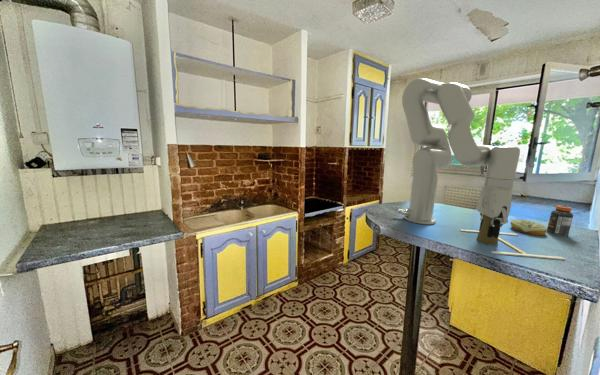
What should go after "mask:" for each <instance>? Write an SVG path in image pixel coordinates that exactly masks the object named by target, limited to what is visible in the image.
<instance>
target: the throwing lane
mask: <svg viewBox="0 0 600 375" xmlns="http://www.w3.org/2000/svg"><path fill="white" fill-rule="evenodd" d="M459 231H460V232H463V233H464V232H465V233H478V234H479V230H474V229H472V230H471V229H462V228H460V229H459ZM499 235H504V236H516V237H518V236H519V234H517V233H514V232H513V233H511V232H499ZM498 242H501V243H503V244H505V245H506V246H507V247H510V248H511V249H513V250H514V251H516V252H507V251H497V250H495V251H494V250H490V254H493V255H501V256H502V255H504V256H511V257H512V256H513V257H514V256H515V257H524V258H538V259H549V260H557V261H558V260H560V261H561V260H562V261H566V258H564V257H563V256H555V255H543V254H542V255H541V254H531V253H527V252H525V251H524V250H522V249H520V248H518V247H516V246H515V245H513V244H511V243H510V242H508V241H506V240H504V239H502V238H501V237H500V236H498Z"/></svg>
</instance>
